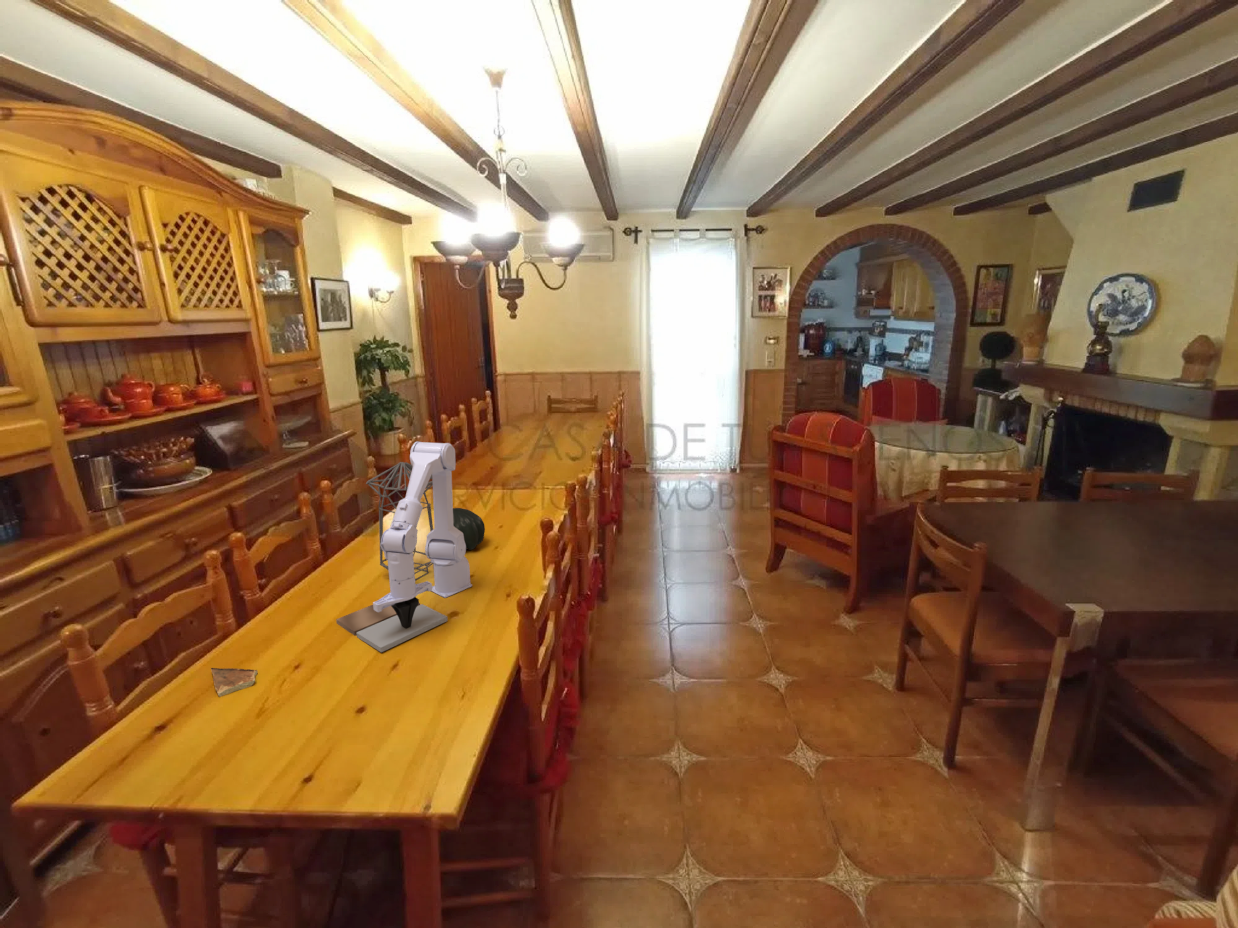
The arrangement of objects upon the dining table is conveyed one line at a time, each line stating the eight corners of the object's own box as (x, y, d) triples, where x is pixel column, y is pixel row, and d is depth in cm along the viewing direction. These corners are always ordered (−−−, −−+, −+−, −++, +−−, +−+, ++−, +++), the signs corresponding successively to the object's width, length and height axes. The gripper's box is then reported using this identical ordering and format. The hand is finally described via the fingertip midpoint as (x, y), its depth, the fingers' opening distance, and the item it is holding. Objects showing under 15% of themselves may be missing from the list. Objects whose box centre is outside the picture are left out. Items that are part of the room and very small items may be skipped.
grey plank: (422, 608, 148) (422, 603, 148) (447, 620, 141) (447, 616, 141) (356, 636, 134) (356, 632, 134) (381, 652, 127) (380, 647, 127)
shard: (212, 673, 120) (210, 666, 120) (253, 660, 125) (252, 653, 125) (217, 699, 112) (215, 692, 112) (261, 685, 117) (260, 677, 117)
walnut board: (401, 596, 154) (401, 593, 154) (420, 607, 149) (420, 603, 148) (336, 623, 140) (336, 619, 140) (354, 635, 135) (354, 631, 134)
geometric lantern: (370, 579, 164) (360, 464, 156) (412, 561, 178) (404, 454, 170) (408, 591, 157) (399, 471, 149) (449, 571, 170) (442, 460, 163)
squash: (498, 525, 194) (468, 493, 191) (484, 543, 179) (451, 509, 177) (470, 548, 197) (441, 517, 195) (454, 567, 183) (422, 534, 181)
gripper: (419, 561, 141) (422, 609, 144) (364, 581, 130) (369, 633, 133) (435, 569, 137) (439, 618, 140) (380, 590, 126) (385, 643, 129)
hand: (406, 626), depth 136 cm, fingers closed, pressing on grey plank
